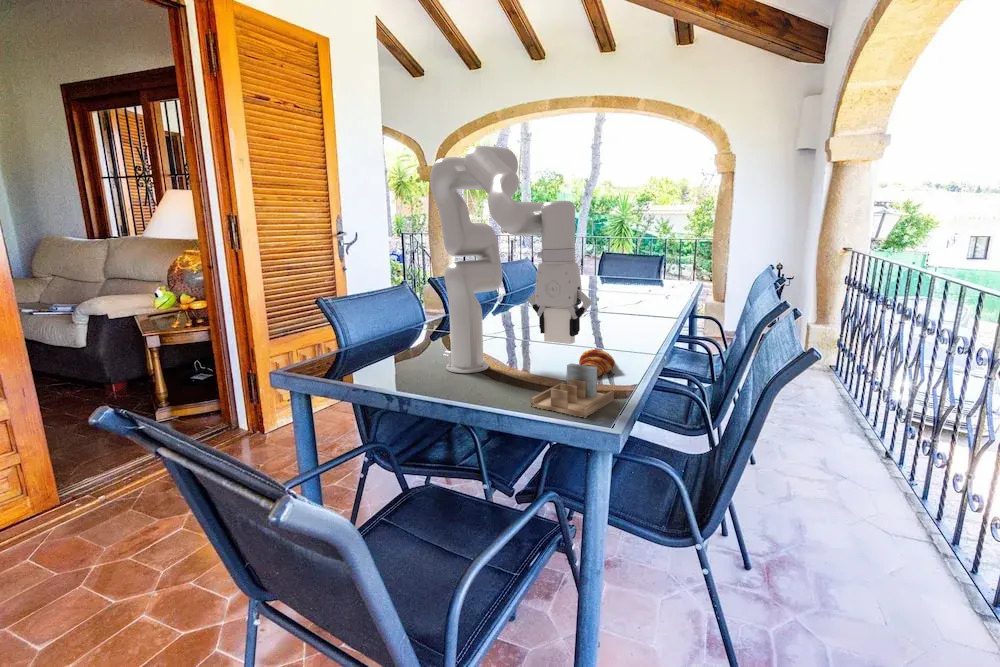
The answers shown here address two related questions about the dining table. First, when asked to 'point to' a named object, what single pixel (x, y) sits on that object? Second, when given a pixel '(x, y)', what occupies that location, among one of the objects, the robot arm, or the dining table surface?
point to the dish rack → (574, 393)
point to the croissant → (597, 360)
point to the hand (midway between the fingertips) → (559, 333)
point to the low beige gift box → (557, 325)
